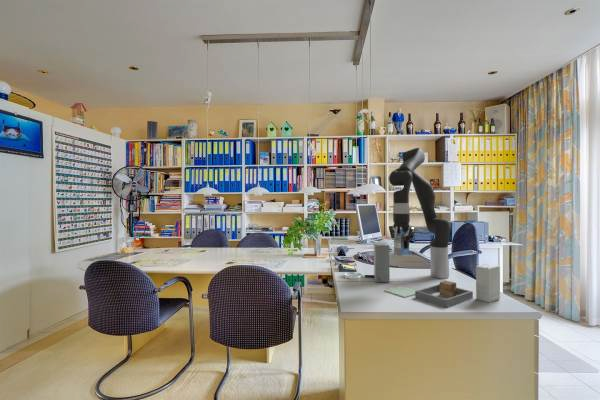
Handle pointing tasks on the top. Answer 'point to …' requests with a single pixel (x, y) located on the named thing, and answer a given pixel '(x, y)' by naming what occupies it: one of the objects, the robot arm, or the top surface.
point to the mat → (401, 291)
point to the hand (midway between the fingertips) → (401, 247)
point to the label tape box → (400, 244)
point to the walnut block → (448, 289)
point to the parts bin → (461, 297)
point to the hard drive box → (381, 262)
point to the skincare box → (488, 282)
